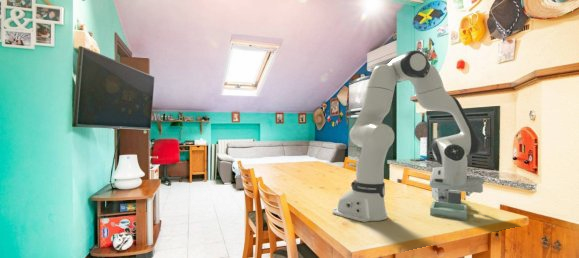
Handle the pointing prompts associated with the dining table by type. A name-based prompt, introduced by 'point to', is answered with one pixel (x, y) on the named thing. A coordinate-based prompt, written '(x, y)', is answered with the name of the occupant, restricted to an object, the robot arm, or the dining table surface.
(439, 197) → the light bulb box
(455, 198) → the gray rectangular block
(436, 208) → the tray
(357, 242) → the dining table surface
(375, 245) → the dining table surface
